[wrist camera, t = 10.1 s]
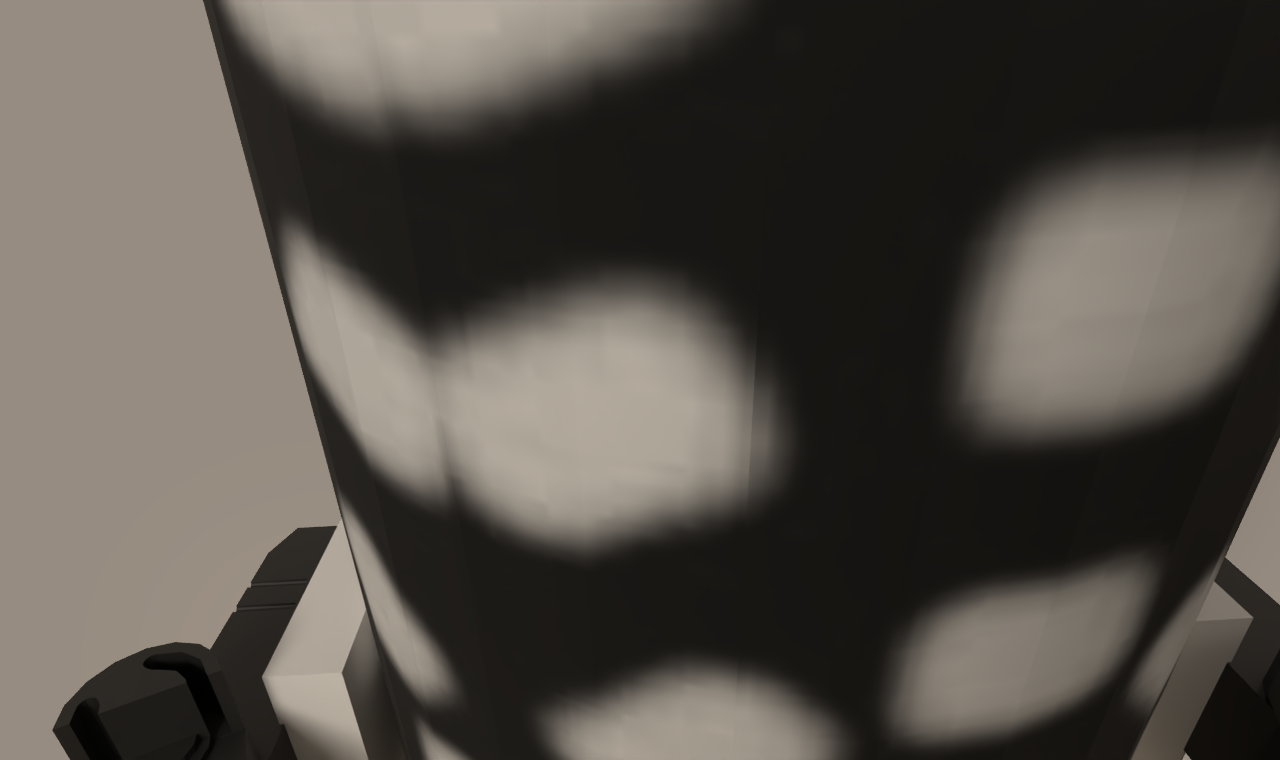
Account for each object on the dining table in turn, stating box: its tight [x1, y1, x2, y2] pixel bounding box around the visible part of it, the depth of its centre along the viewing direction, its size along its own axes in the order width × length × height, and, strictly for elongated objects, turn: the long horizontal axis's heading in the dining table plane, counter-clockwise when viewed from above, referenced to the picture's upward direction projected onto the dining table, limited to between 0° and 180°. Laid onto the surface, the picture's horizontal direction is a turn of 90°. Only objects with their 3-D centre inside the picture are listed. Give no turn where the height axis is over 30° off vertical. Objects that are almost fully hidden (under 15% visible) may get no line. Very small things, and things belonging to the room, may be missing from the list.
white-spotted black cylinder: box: [203, 0, 1280, 760], centre depth 10 cm, size 8×8×20 cm
